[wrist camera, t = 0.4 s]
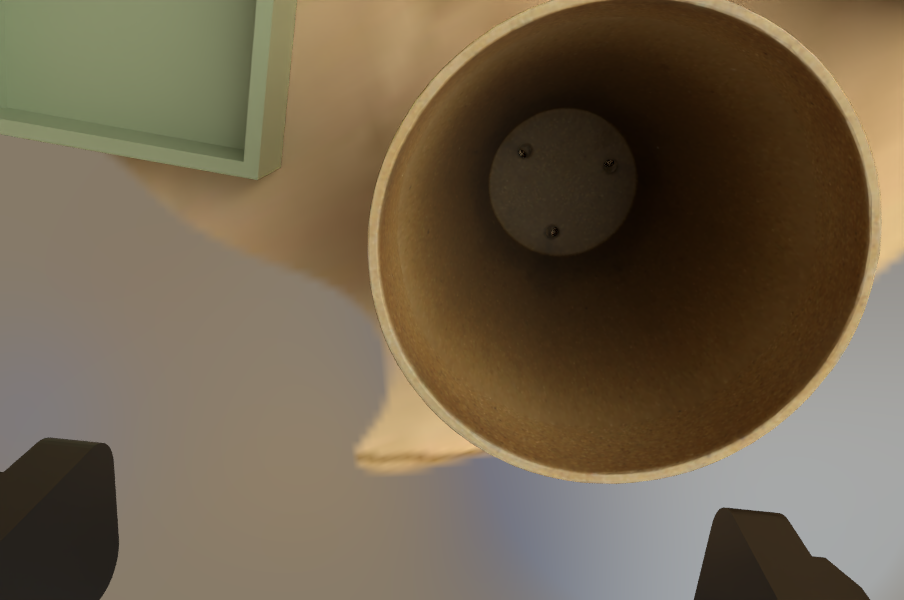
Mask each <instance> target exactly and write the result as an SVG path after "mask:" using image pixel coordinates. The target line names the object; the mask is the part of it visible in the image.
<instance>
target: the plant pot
mask: <svg viewBox="0 0 904 600" xmlns="http://www.w3.org/2000/svg"><path fill="white" fill-rule="evenodd" d="M519 150H523V151H525V152H526V157H525V158H524V157H522V156H521V155H520V154H519V153H518V152H519ZM608 160H613V161H614V164H613V165H612V166H605V165H604V163H605V162H606V161H608ZM881 224H882V220H881V195H880V188H879V181H878V175H877V170H876V166H875V162H874V158H873V154H872V151H871V148H870V145H869V142H868V139H867V136H866V134H865V131H864V129H863V127H862V124H861V122H860V120H859V118H858V116H857V114H856V112H855V110H854V109H853V107H852V105H851V103H850V101H849V100H848V98H847V96H846V95H845V93H844V92H843V90H842V89H841V87H840V86H839V85H838V83H837V82H836V80H835V79H834V77H833V76H832V74H831V73H830V72H829V71H828V70H827V68H826V67H825V66H824V65H823V64H822V63H821V62H820V60H819V59H818V58H817V57H816V56H815V55H814V54H813V53H812V52H810V51H809V50H808V49H807V48H806V47H805V46H804V45H803V44H801V43H800V42H799V41H798V40H797V39H795V38H794V37H793V36H792V35H790V34H789V33H788V32H786V31H785V30H784V29H782V28H781V27H779V26H777V25H776V24H774V23H773V22H771V21H769V20H768V19H766V18H764V17H762V16H760V15H758V14H756V13H754V12H752V11H750V10H748V9H746V8H744V7H742V6H740V5H738V4H735V3H732V2H730V1H727V0H551V1H548V2H546V3H543V4H540V5H538V6H535V7H532V8H530V9H527V10H525V11H523V12H521V13H519V14H517V15H515V16H513V17H511V18H509V19H507V20H506V21H504V22H502V23H500V24H499V25H497V26H495V27H494V28H492V29H491V30H489V31H488V32H486V33H485V34H483V35H482V36H481V37H479V38H478V39H476V40H475V41H473V42H472V43H471V44H469V45H468V46H467V47H466V48H465V49H464V50H462V51H461V52H460V53H459V54H458V55H456V56H455V57H454V58H453V59H452V60H451V61H450V62H449V63H448V64H447V65H446V66H445V67H444V68H443V69H442V70H441V71H440V72H439V73H438V74H437V75H436V76H435V77H434V78H433V79H432V80H431V82H430V83H429V84H428V85H427V87H426V88H425V89H424V90H423V92H422V93H421V94H420V96H419V97H418V98H417V100H416V101H415V102H414V104H413V105H412V107H411V109H410V110H409V112H408V113H407V115H406V116H405V118H404V120H403V121H402V123H401V125H400V126H399V128H398V130H397V132H396V134H395V136H394V138H393V140H392V142H391V144H390V146H389V148H388V151H387V153H386V156H385V159H384V161H383V164H382V166H381V169H380V172H379V175H378V178H377V182H376V185H375V189H374V194H373V198H372V203H371V208H370V216H369V224H368V270H369V279H370V286H371V291H372V296H373V301H374V306H375V310H376V314H377V317H378V320H379V323H380V326H381V329H382V332H383V335H384V337H385V340H386V342H387V344H388V347H389V349H390V351H391V353H392V355H393V357H394V358H395V360H396V362H397V364H398V366H399V367H400V369H401V370H402V372H403V374H404V375H405V377H406V378H407V380H408V382H409V383H410V385H411V386H412V387H413V388H414V390H415V391H416V392H417V393H418V394H419V396H420V397H421V398H422V399H423V401H424V402H425V403H426V404H427V406H428V407H429V408H430V409H431V410H432V411H433V412H434V413H435V414H436V415H437V416H438V417H439V418H440V419H441V420H442V421H444V422H445V423H446V424H447V425H448V426H449V427H450V428H452V429H453V430H454V431H455V432H457V433H458V434H459V435H461V436H462V437H463V438H465V439H466V440H468V441H469V442H470V443H472V444H473V445H475V446H477V447H478V448H480V449H482V450H483V451H485V452H486V453H488V454H490V455H492V456H495V457H497V458H499V459H501V460H503V461H505V462H507V463H509V464H511V465H513V466H516V467H518V468H521V469H524V470H527V471H530V472H533V473H537V474H540V475H544V476H548V477H552V478H557V479H563V480H567V481H575V482H584V483H606V484H619V483H634V482H640V481H648V480H656V479H661V478H666V477H670V476H675V475H679V474H683V473H687V472H690V471H693V470H696V469H698V468H702V467H704V466H707V465H709V464H712V463H714V462H717V461H719V460H721V459H723V458H725V457H728V456H730V455H731V454H733V453H735V452H737V451H738V450H741V449H742V448H744V447H746V446H748V445H750V444H752V443H753V442H755V441H756V440H757V439H759V438H761V437H762V436H764V435H765V434H766V433H768V432H770V431H771V430H772V429H774V428H775V427H776V426H778V425H779V424H780V423H781V422H783V421H784V420H785V419H786V418H787V417H788V416H790V415H791V414H792V413H793V412H794V411H795V410H796V409H797V408H798V407H800V406H801V405H802V403H804V401H805V400H806V399H808V397H810V395H811V394H812V393H813V392H814V391H815V389H816V388H817V387H818V386H819V385H820V384H821V382H822V381H823V380H824V379H825V378H826V376H827V375H828V374H829V373H830V372H831V370H832V369H833V368H834V366H835V365H836V363H837V362H838V360H839V359H840V357H841V356H842V354H843V352H844V351H845V349H846V348H847V346H848V344H849V342H850V340H851V338H852V336H853V334H854V332H855V330H856V328H857V327H858V324H859V322H860V320H861V317H862V315H863V313H864V310H865V307H866V304H867V301H868V298H869V295H870V292H871V289H872V285H873V281H874V277H875V272H876V268H877V264H878V259H879V254H880V242H881ZM555 227H556V228H558V232H557V234H556V236H552V234H551V231H552V230H553V228H555Z"/></svg>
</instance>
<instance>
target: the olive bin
mask: <svg viewBox="0 0 904 600" xmlns="http://www.w3.org/2000/svg"><path fill="white" fill-rule="evenodd" d="M296 5H297V0H0V134H1V135H7V136H12V137H18V138H23V139H29V140H35V141H40V142H47V143H52V144H57V145H63V146H69V147H74V148H81V149H85V150H91V151H97V152H102V153H108V154H113V155H119V156H125V157H130V158H136V159H142V160H147V161H153V162H158V163H164V164H170V165H175V166H181V167H187V168H192V169H198V170H203V171H209V172H215V173H220V174H226V175H232V176H237V177H243V178H248V179H254V180H259V179H261V178H262V177H264V176H266V175H268V174H270V173H272V172H274V171H275V170H277V169H279V168H281V159H282V148H283V138H284V128H285V118H286V108H287V97H288V87H289V77H290V67H291V56H292V46H293V36H294V26H295V16H296Z"/></svg>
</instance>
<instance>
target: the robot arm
mask: <svg viewBox="0 0 904 600" xmlns="http://www.w3.org/2000/svg"><path fill="white" fill-rule="evenodd" d="M118 549H119V534H118V519H117V505H116V489H115V474H114V461H113V455H112V451H111V449H110V447H109V446H108V445H107V444H105V443H98V442H88V441H78V440H68V439H58V438H44V439H42V440H40V441H39V442H38V443H36V444H35V445H34V446H33V447H32V448H31V449H30V450H28V451H27V452H26V453H25V454H24V455H23V456H21V458H19V459H18V460H17V461H16V462H15V463H14V464H12V465H11V466H10V467H9V468H8V469H7V470H6V471H4V472H0V600H100V598H101V597H102V595H103V594H104V592H105V591H106V589H107V587H108V585H109V583H110V580H111V578H112V576H113V573H114V570H115V566H116V562H117V557H118ZM694 600H870V599H869V597H868V596H867V595H866V593H865V592H864V590H863V589H862V588H861V587H860V586H859V585H858V584H856V583H855V582H854V581H853V580H851V579H850V578H849V577H848V576H847V575H845V574H844V573H843V572H842V571H841V570H839V569H838V568H837V567H836V566H835V565H833V564H832V563H831V562H830V561H828V560H827V559H826V558H823V557H812V556H811V554H810V553H809V551H808V550H807V548H806V547H805V545H804V544H803V542H802V540H801V539H800V537H799V536H798V534H797V533H796V531H795V530H794V528H793V527H792V525H791V524H790V522H789V521H788V519H787V518H786V517H785V516H784V515H783V514H780V513H773V512H763V511H752V510H742V509H733V508H721V509H719V510H718V512H717V513H716V515H715V517H714V520H713V523H712V527H711V531H710V535H709V539H708V543H707V547H706V552H705V556H704V560H703V564H702V568H701V572H700V576H699V581H698V585H697V589H696V593H695V597H694Z"/></svg>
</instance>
